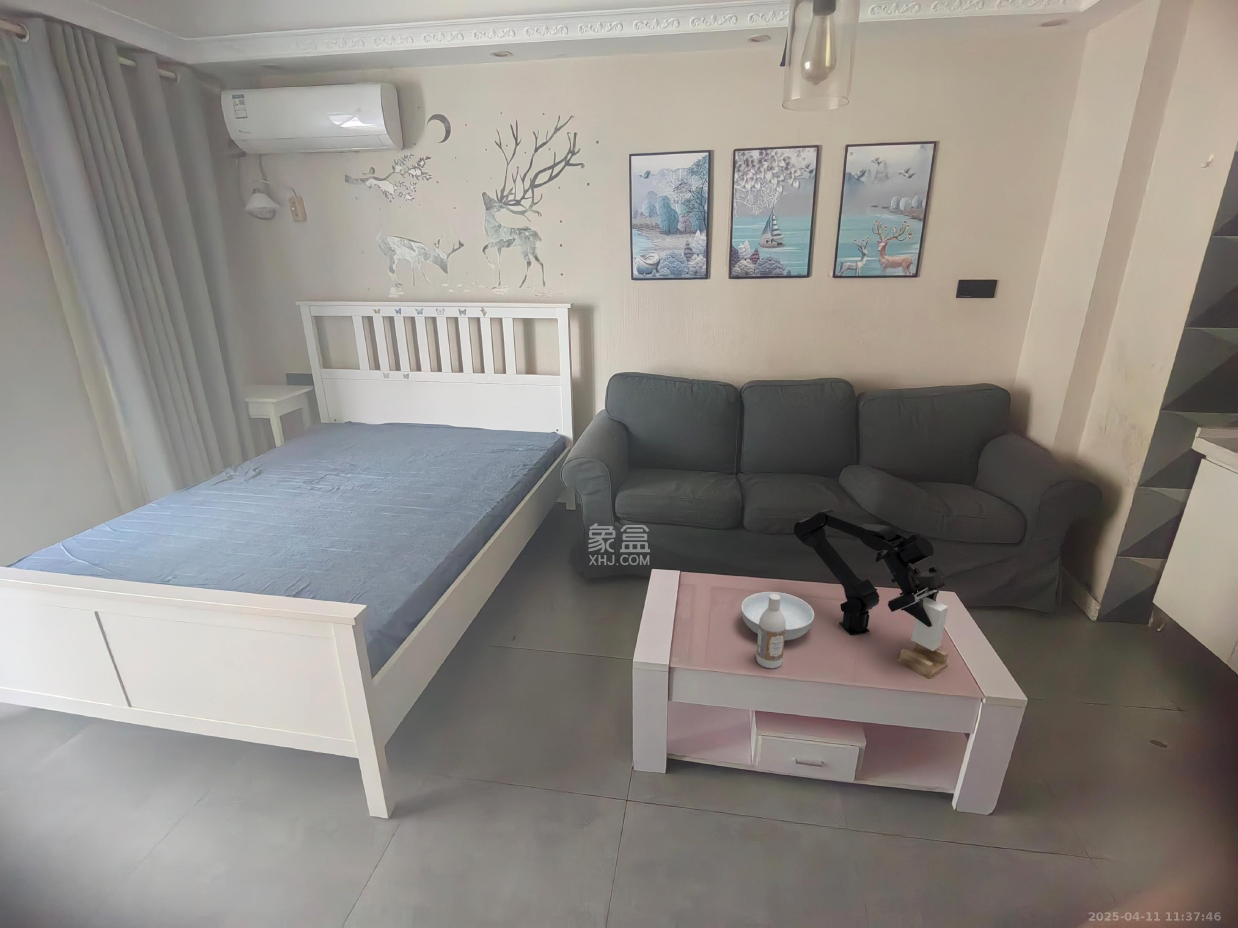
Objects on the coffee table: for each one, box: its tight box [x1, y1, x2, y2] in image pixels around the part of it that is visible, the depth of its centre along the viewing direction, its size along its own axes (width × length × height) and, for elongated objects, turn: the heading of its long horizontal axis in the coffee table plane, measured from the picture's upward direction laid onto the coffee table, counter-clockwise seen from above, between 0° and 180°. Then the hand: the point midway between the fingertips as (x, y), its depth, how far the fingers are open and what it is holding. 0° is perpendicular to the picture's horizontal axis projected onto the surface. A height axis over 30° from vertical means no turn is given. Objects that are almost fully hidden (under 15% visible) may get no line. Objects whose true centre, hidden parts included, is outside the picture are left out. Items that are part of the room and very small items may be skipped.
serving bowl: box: [740, 591, 815, 641], centre depth 181 cm, size 21×21×7 cm
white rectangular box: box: [910, 597, 949, 651], centre depth 163 cm, size 6×4×12 cm, turn 36°
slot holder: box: [896, 642, 949, 679], centre depth 166 cm, size 9×9×4 cm
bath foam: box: [755, 594, 786, 669], centre depth 164 cm, size 7×7×20 cm
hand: (934, 623), depth 161 cm, fingers closed on white rectangular box, 4 cm apart
